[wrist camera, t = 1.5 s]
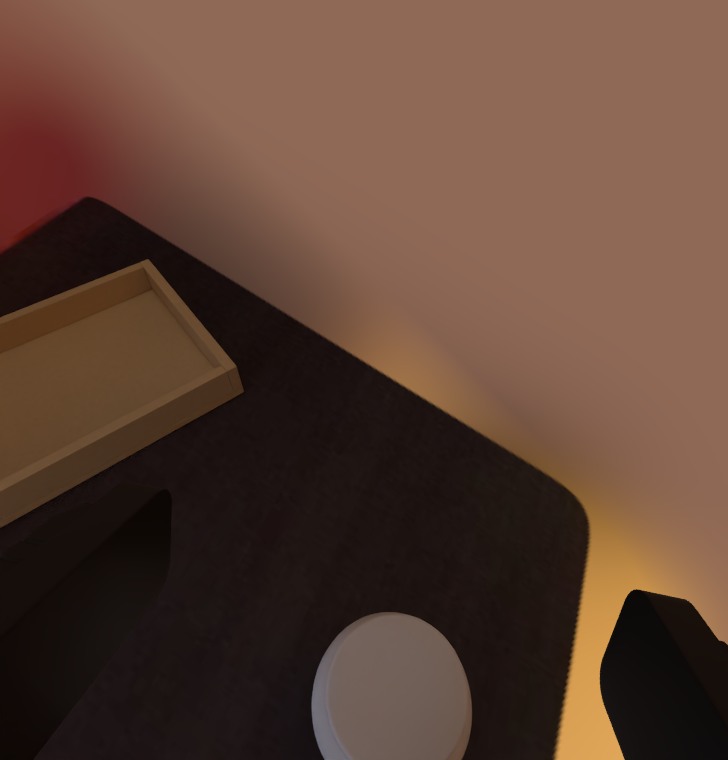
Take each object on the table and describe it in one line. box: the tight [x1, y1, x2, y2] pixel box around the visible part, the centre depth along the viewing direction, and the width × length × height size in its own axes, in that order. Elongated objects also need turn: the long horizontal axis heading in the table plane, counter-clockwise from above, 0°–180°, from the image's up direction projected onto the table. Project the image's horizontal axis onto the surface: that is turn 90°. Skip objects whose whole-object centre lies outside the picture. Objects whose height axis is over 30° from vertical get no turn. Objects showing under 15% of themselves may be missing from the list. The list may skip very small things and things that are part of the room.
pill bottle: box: [312, 612, 472, 760], centre depth 20 cm, size 6×6×11 cm
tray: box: [0, 259, 244, 528], centre depth 36 cm, size 18×16×3 cm
